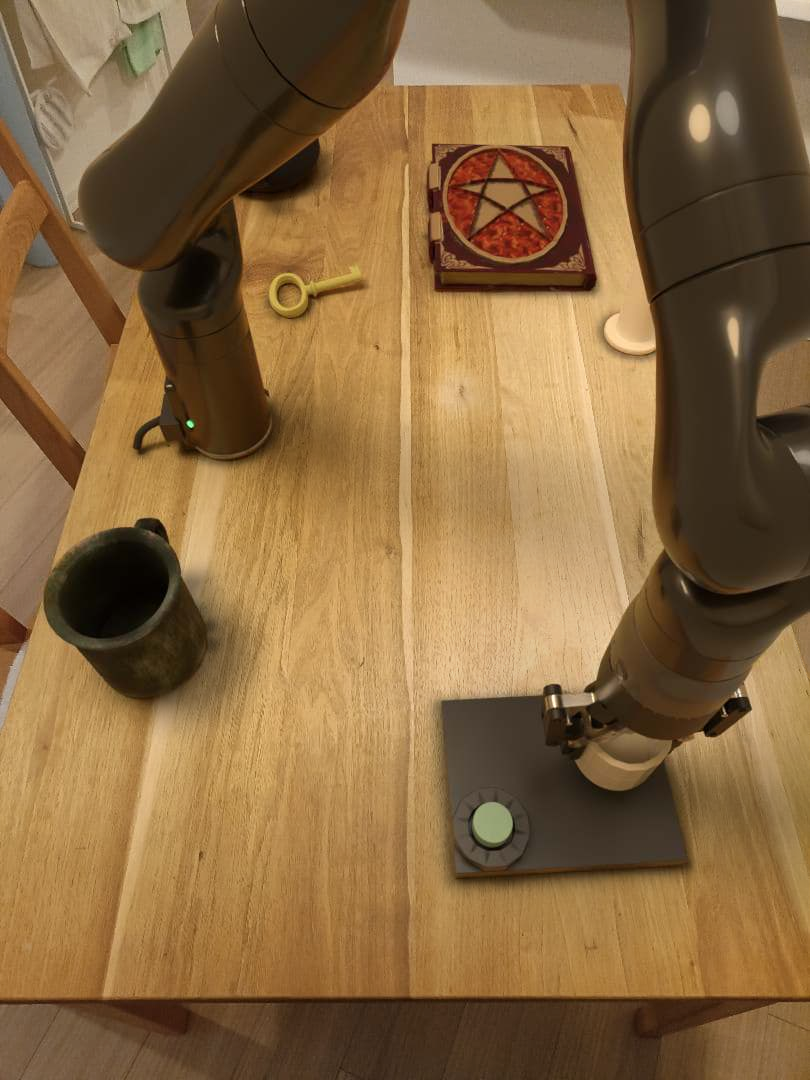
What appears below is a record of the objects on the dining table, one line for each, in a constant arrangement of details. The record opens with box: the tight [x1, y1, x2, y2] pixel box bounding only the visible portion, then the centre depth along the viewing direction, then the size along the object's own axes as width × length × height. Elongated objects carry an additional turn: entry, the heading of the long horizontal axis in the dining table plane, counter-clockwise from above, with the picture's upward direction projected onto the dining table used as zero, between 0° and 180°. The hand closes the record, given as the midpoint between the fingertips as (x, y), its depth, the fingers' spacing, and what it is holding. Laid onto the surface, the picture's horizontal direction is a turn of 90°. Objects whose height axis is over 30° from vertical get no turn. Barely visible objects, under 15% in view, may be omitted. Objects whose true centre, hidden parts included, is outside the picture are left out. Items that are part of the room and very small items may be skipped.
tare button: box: [472, 802, 513, 848], centre depth 59 cm, size 3×3×2 cm
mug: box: [42, 517, 208, 698], centre depth 67 cm, size 11×15×12 cm
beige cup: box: [575, 718, 672, 791], centre depth 59 cm, size 6×6×6 cm
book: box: [426, 143, 598, 292], centre depth 104 cm, size 28×21×5 cm
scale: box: [440, 694, 688, 879], centre depth 63 cm, size 18×14×4 cm
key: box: [268, 264, 364, 319], centre depth 98 cm, size 7×12×2 cm, turn 123°
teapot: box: [244, 137, 321, 194], centre depth 108 cm, size 25×16×12 cm, turn 1°
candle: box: [603, 253, 656, 356], centre depth 83 cm, size 7×7×25 cm
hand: (615, 744), depth 60 cm, fingers closed on beige cup, 6 cm apart
